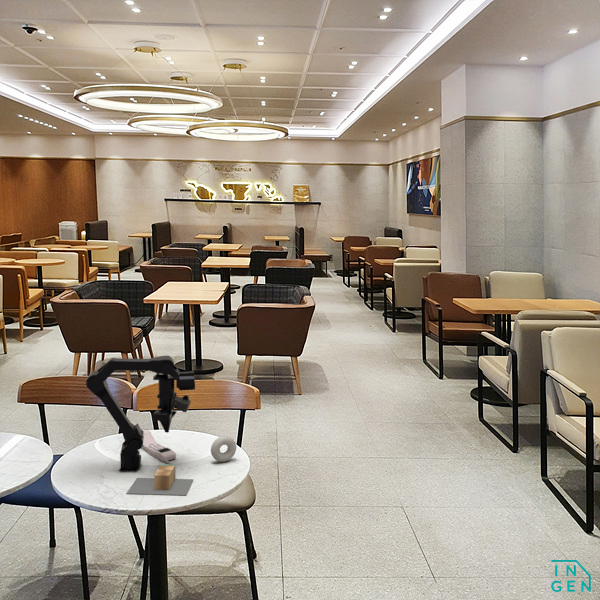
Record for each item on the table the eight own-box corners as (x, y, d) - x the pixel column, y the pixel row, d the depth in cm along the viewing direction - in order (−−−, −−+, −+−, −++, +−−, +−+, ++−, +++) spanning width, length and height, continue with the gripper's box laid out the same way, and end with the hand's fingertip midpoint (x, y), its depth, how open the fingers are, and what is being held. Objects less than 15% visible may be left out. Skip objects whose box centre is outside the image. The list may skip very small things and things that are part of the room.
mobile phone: (148, 429, 269) (179, 446, 250) (148, 443, 270) (180, 461, 251) (134, 432, 266) (165, 450, 247) (135, 446, 266) (166, 465, 247)
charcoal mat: (126, 494, 221) (126, 493, 221) (137, 478, 234) (137, 477, 234) (186, 495, 221) (186, 494, 221) (193, 480, 234) (193, 479, 234)
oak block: (161, 477, 235) (154, 489, 225) (161, 464, 234) (154, 475, 224) (175, 478, 234) (169, 489, 225) (175, 464, 234) (169, 475, 224)
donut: (212, 465, 247) (212, 439, 246) (209, 462, 251) (209, 436, 249) (237, 461, 252) (237, 435, 251) (234, 457, 255) (234, 432, 254)
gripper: (183, 398, 233) (183, 441, 235) (193, 384, 251) (193, 424, 253) (151, 397, 233) (152, 440, 235) (164, 384, 251) (164, 423, 254)
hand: (167, 432), depth 244 cm, fingers closed
